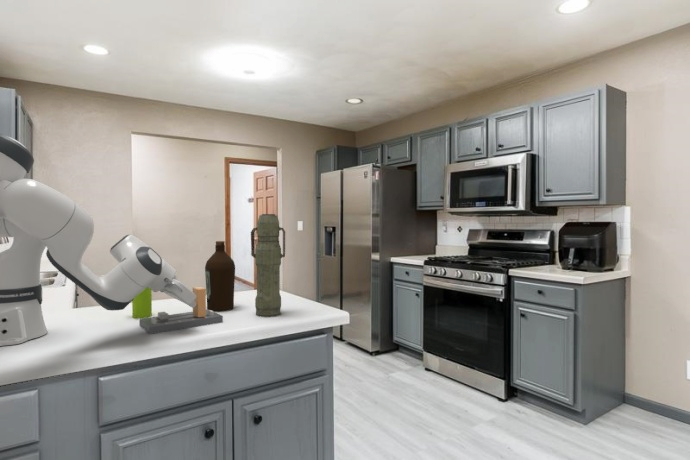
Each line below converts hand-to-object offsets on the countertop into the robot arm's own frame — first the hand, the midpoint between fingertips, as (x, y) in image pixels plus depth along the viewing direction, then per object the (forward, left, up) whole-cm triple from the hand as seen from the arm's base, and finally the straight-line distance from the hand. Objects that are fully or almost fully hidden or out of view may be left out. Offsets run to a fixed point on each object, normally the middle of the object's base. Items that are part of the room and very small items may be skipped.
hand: (193, 305), depth 132 cm
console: (-3, +2, -6) cm, 7 cm away
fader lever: (+2, 0, -4) cm, 4 cm away
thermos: (+25, -3, -6) cm, 26 cm away
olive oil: (+15, +15, -6) cm, 22 cm away
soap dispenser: (-10, +20, -6) cm, 23 cm away
